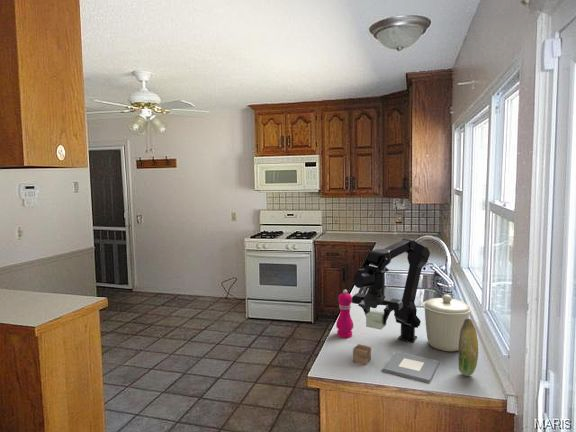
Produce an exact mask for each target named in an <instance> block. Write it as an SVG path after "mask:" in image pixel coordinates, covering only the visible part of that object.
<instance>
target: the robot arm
mask: <svg viewBox="0 0 576 432" xmlns="http://www.w3.org/2000/svg"><path fill="white" fill-rule="evenodd" d="M403 253H406V254H407V256H406V258H407V262H408V264H409V265H408V266H409V267H408V271H407V274H406V275H407V276H406V278H405V279H406V280H405V285H404V290H403V294H402V299H398V298H391V299H390V300H386V295H385V294H386V292H385V289H386V285H385V284H386V282H385V280H386V279H385V278H386V273H387V272H389V271H390V269H389V268H388V267H387V266H388V265H389V264H390V263H391V262H392V259H394V258H396V257H398V256H401V255H403ZM430 256H431V252H430V250H429V248H428V247H427V246H424V245H422V244H420V243H419V242H417V241H415V240H414V239H412V238H402V239H401V240H400V241H397V242H395V243H393V244H391V245H389V246H387V247H385V248H377V249H373V250H370V251H369V252H368V253H367V256H366V258H365V260H364V261H363V264H362V265H361V268H359V269H357V270H356V273H354V275H353V277H352V282H353V285H354V286H355V287H356V288H357V289H362V288H363V289H364V288H366V287H368V288H367V292H366V293H360V292H357V293H356V294H353V296H352V302H351V304H355V305H358V307H360V308H361V309H362V310H363V312H364V315H365V316H366V314H367V313H368V312H370V311H371V308H372V309H376V308H378V306H385V308H384V309H383V312H384V319H383V325H385V324H386V325H387V320H388V319H389V316H390V314H391V312H394V314H393V315H394V319H395V322H396V324H400V335H399V336H398V337H397V340H399V341H405V342H410V343H414V342H415V341H416V340H417V338H418V335H415V334H416V328H417V329H418V328H419V327H420V326H421V319H420V318H419V317H418V316H417V307H416V303H415V302H416V296H417V292H418V288H419V284H420V283H419V282H420V279H421V274H422V271H423V270H422V269H423V268H424V267H425V266H426V265H427V264H428V260H429V257H430Z"/></svg>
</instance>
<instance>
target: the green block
mask: <svg viewBox="0 0 576 432" xmlns="http://www.w3.org/2000/svg"><path fill="white" fill-rule="evenodd" d="M383 319H384V311H382V310H377V309H376V310H375V309H370V312H368V313H367V314H366V315H365V327H366V328H370V329H376V330H383V329H384V327H386V325H387V323H386V324H385V325H383Z"/></svg>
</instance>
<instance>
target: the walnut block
mask: <svg viewBox="0 0 576 432" xmlns="http://www.w3.org/2000/svg"><path fill="white" fill-rule="evenodd" d="M371 359H372V347H371V346H368V345H365V344H364V345H363V344H359V343H358V344H357V345H356V346H354V347H353V349H352V362H353V363H354V364H355V363H357V364H360V365H363V366H367V365H368V363H369V362H370V361H371Z"/></svg>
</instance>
